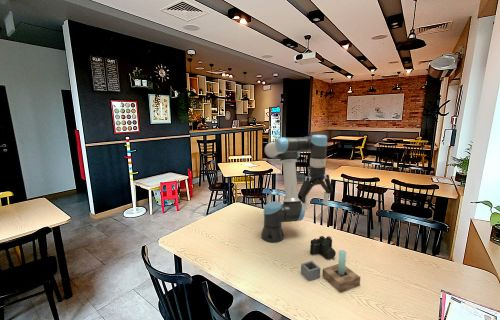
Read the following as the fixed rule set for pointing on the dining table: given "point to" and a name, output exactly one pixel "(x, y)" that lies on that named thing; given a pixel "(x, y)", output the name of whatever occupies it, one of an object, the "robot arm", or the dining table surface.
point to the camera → (322, 247)
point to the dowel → (341, 263)
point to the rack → (341, 278)
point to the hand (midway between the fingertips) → (315, 206)
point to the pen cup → (310, 270)
